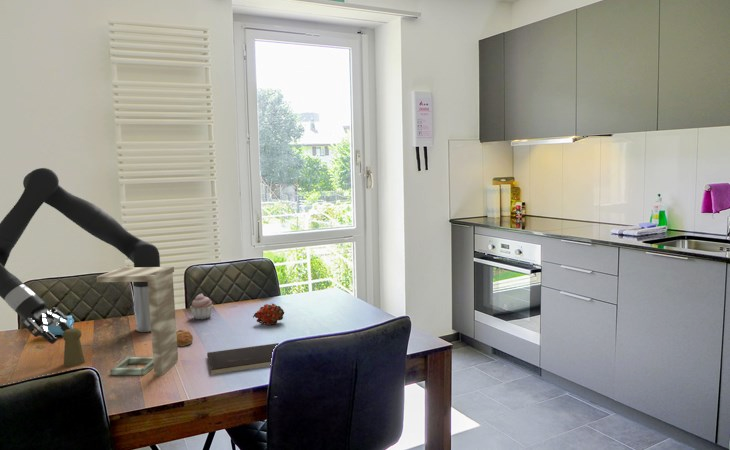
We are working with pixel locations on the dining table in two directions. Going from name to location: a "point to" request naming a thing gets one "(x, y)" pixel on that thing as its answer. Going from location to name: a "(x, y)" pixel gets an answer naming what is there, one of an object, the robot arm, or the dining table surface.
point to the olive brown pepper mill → (73, 348)
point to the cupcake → (201, 307)
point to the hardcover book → (240, 358)
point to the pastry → (184, 338)
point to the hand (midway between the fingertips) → (63, 337)
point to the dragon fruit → (269, 314)
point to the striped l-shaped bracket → (152, 318)
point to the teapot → (57, 330)
